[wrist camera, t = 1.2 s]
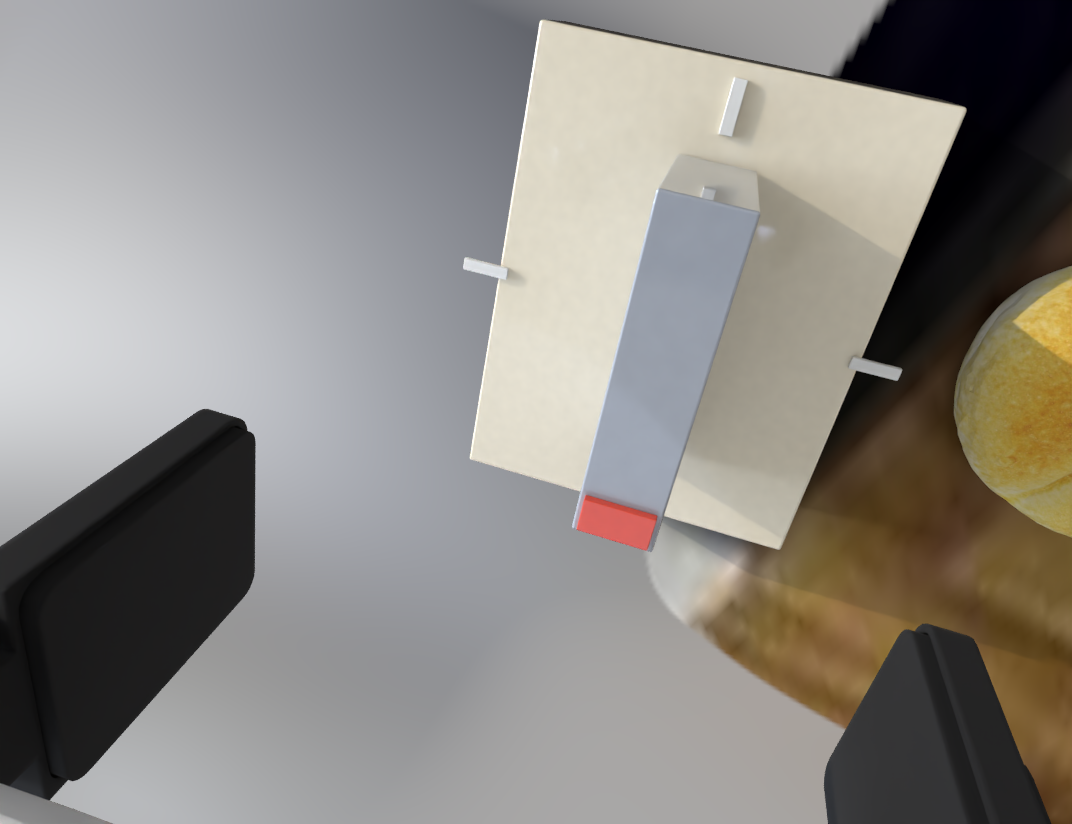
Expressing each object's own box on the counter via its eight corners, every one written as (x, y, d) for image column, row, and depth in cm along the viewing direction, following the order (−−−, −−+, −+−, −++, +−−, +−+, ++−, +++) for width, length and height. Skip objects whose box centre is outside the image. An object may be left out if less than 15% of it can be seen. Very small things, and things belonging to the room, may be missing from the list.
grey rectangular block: (677, 153, 20) (655, 189, 16) (758, 171, 20) (762, 214, 15) (604, 434, 25) (568, 534, 20) (670, 453, 24) (650, 559, 19)
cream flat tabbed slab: (528, 13, 23) (498, 10, 20) (982, 107, 21) (1017, 118, 18) (466, 414, 29) (437, 453, 27) (807, 511, 28) (814, 564, 25)
